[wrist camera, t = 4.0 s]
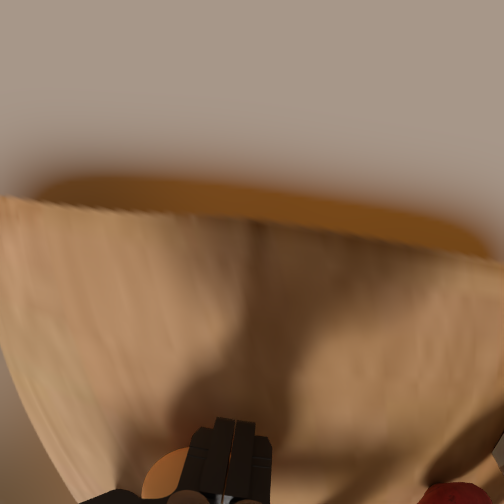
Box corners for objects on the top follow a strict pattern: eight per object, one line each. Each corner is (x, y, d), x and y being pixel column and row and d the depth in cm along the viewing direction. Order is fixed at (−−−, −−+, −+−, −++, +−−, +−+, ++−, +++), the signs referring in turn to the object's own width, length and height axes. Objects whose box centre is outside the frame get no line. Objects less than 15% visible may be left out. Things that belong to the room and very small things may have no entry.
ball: (298, 467, 10) (269, 575, 7) (255, 449, 15) (235, 531, 12) (154, 442, 9) (130, 559, 7) (154, 426, 14) (135, 514, 11)
